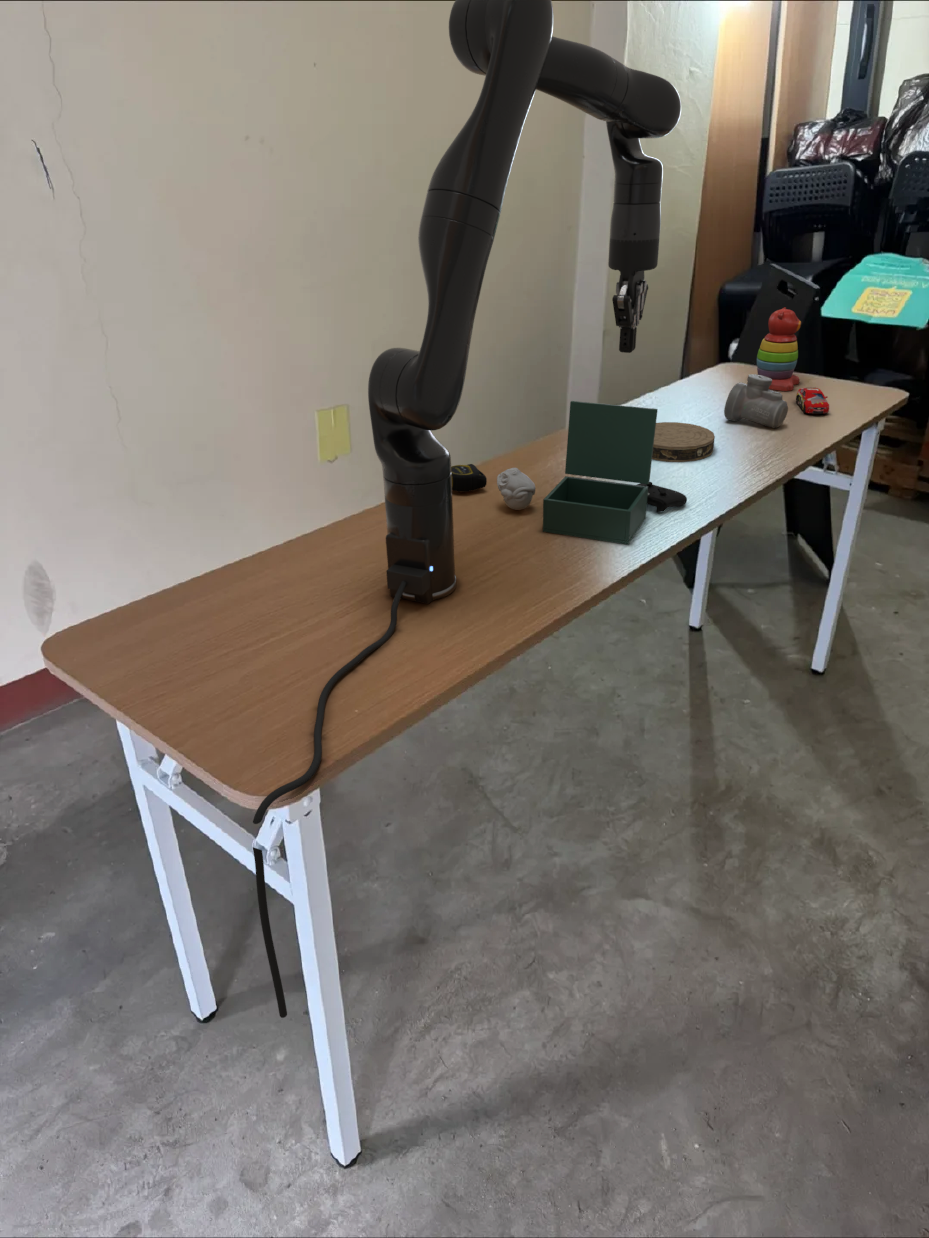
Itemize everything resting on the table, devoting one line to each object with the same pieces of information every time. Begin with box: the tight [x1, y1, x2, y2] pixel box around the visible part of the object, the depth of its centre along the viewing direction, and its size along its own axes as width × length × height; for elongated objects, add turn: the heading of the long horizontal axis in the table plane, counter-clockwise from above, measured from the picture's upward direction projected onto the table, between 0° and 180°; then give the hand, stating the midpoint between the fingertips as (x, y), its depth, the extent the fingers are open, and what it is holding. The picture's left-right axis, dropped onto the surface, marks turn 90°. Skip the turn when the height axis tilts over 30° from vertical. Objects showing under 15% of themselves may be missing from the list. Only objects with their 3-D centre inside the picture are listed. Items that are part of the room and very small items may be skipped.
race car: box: [795, 387, 830, 415], centre depth 194 cm, size 13×5×4 cm, turn 171°
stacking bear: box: [756, 307, 802, 392], centre depth 209 cm, size 11×10×18 cm
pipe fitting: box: [723, 373, 789, 429], centre depth 184 cm, size 12×8×10 cm
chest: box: [542, 475, 648, 545], centre depth 141 cm, size 11×14×6 cm
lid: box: [564, 400, 658, 484], centre depth 141 cm, size 12×14×1 cm
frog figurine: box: [496, 467, 536, 511], centre depth 147 cm, size 6×7×7 cm
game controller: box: [636, 481, 688, 513], centre depth 148 cm, size 10×5×6 cm
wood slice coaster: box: [652, 421, 716, 463], centre depth 173 cm, size 16×16×3 cm
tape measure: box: [451, 463, 488, 493], centre depth 157 cm, size 7×7×4 cm
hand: (627, 351), depth 141 cm, fingers closed
